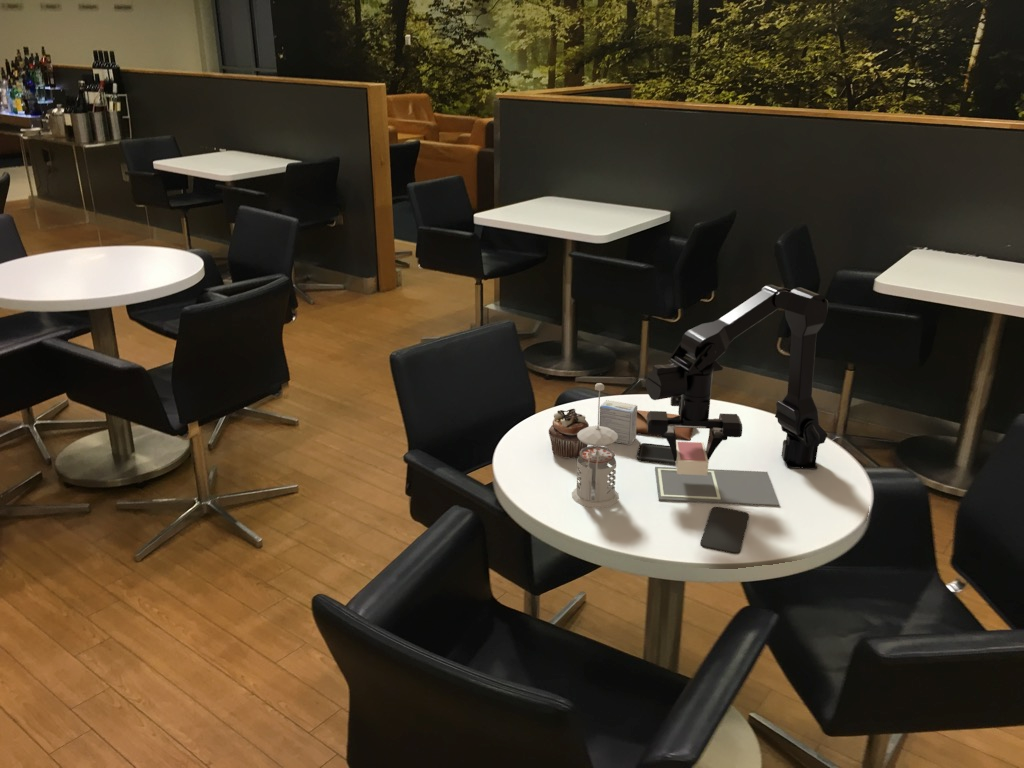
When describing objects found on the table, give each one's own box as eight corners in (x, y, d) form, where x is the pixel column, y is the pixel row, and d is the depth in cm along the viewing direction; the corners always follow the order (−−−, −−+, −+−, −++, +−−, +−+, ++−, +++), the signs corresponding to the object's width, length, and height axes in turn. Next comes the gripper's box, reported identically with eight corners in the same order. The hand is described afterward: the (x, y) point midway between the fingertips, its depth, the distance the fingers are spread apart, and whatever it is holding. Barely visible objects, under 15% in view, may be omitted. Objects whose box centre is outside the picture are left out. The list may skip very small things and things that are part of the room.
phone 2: (640, 442, 195) (706, 449, 192) (640, 447, 196) (706, 454, 192) (636, 457, 188) (704, 465, 185) (635, 462, 189) (704, 470, 185)
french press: (621, 486, 178) (627, 376, 168) (615, 514, 167) (621, 398, 158) (575, 481, 180) (578, 372, 170) (566, 509, 169) (569, 394, 160)
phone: (698, 545, 157) (712, 505, 169) (698, 548, 157) (711, 509, 170) (739, 553, 154) (750, 512, 167) (739, 557, 154) (749, 516, 167)
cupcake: (599, 452, 192) (600, 412, 188) (565, 464, 187) (566, 423, 183) (572, 437, 200) (573, 398, 196) (539, 448, 194) (540, 408, 191)
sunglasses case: (615, 432, 202) (618, 405, 202) (618, 435, 208) (621, 409, 209) (692, 440, 198) (695, 412, 198) (692, 443, 204) (695, 416, 205)
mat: (767, 473, 183) (767, 471, 183) (779, 506, 170) (779, 504, 170) (654, 468, 185) (655, 466, 185) (658, 500, 172) (658, 498, 172)
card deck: (707, 475, 172) (708, 461, 171) (677, 474, 172) (678, 460, 171) (702, 455, 180) (703, 441, 179) (673, 453, 181) (675, 440, 179)
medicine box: (636, 438, 199) (638, 404, 196) (630, 446, 195) (632, 411, 192) (604, 432, 202) (605, 399, 199) (598, 439, 198) (599, 406, 195)
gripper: (737, 378, 177) (730, 445, 182) (647, 375, 178) (643, 442, 184) (746, 399, 166) (738, 469, 172) (650, 396, 168) (645, 466, 174)
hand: (690, 460), depth 176 cm, fingers closed on card deck, 6 cm apart
